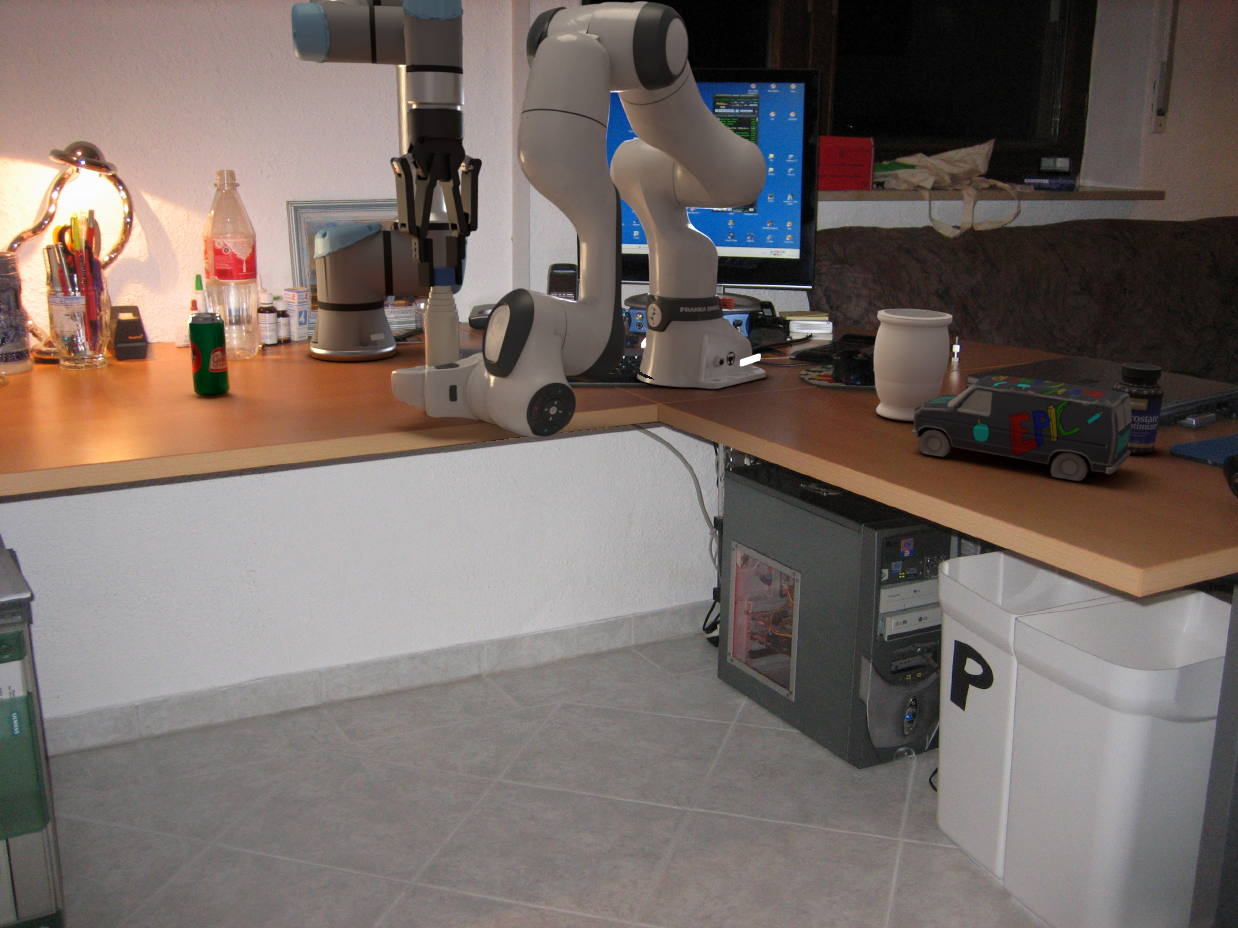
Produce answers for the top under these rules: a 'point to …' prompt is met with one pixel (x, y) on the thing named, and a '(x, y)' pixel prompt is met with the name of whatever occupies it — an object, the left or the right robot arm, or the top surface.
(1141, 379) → the pill bottle
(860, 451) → the top surface
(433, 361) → the bottle
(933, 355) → the jar
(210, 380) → the soda can
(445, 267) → the cap
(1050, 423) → the toy van
